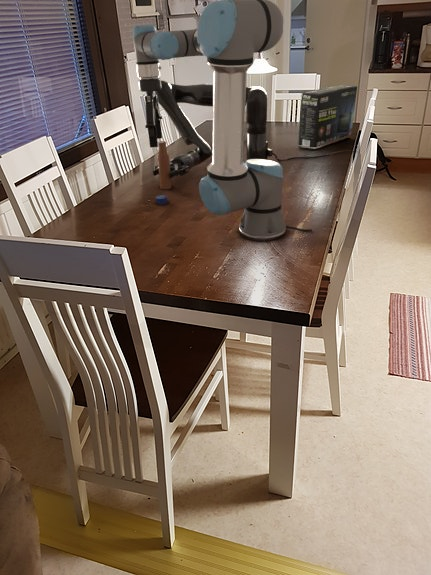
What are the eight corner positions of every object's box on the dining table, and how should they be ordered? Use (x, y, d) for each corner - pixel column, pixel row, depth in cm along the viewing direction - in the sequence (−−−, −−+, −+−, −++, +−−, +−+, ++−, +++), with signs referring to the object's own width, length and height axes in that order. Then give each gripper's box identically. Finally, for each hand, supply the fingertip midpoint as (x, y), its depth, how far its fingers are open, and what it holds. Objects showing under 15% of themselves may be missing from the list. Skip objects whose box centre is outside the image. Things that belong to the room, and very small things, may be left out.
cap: (166, 200, 179) (165, 194, 178) (168, 203, 175) (167, 198, 174) (155, 201, 178) (154, 195, 177) (157, 205, 174) (156, 199, 173)
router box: (314, 151, 231) (318, 94, 217) (296, 148, 237) (299, 92, 224) (352, 138, 251) (358, 85, 238) (335, 135, 258) (340, 83, 245)
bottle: (159, 189, 190) (155, 143, 180) (161, 185, 194) (156, 140, 184) (171, 189, 190) (167, 143, 180) (172, 185, 194) (168, 140, 184)
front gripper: (156, 81, 143) (163, 150, 154) (164, 73, 165) (169, 134, 175) (132, 82, 143) (140, 151, 154) (143, 74, 165) (150, 135, 175)
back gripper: (167, 153, 200) (146, 163, 188) (196, 156, 194) (176, 167, 182) (169, 170, 204) (148, 181, 192) (197, 173, 198) (177, 185, 186)
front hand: (156, 142), depth 164 cm, fingers open, 13 cm apart
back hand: (161, 174), depth 187 cm, fingers open, 7 cm apart
